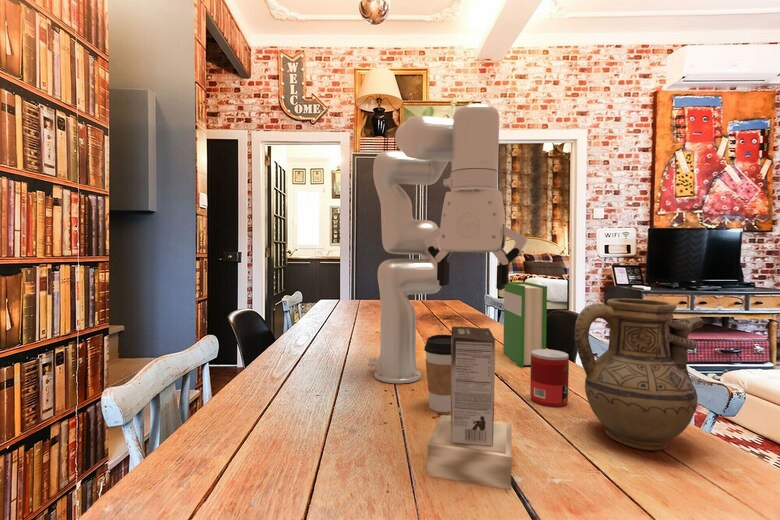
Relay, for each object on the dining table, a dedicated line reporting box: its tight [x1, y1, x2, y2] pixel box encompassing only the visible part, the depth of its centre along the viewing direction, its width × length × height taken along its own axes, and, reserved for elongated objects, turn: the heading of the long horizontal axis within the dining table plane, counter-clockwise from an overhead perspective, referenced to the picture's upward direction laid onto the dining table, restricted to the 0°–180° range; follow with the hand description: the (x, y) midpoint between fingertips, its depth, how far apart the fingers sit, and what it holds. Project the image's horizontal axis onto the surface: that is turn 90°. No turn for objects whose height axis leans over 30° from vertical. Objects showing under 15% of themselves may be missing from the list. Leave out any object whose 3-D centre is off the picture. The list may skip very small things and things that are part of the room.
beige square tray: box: [426, 414, 513, 490], centre depth 65 cm, size 12×12×5 cm
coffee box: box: [450, 325, 496, 446], centre depth 65 cm, size 9×6×16 cm
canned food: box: [529, 348, 570, 408], centre depth 93 cm, size 8×8×11 cm
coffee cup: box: [423, 334, 452, 413], centre depth 89 cm, size 8×8×15 cm
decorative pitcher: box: [574, 298, 705, 451], centre depth 74 cm, size 22×18×25 cm
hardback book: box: [502, 281, 548, 369], centre depth 129 cm, size 18×7×24 cm, turn 1°
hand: (471, 287), depth 69 cm, fingers open, 9 cm apart
